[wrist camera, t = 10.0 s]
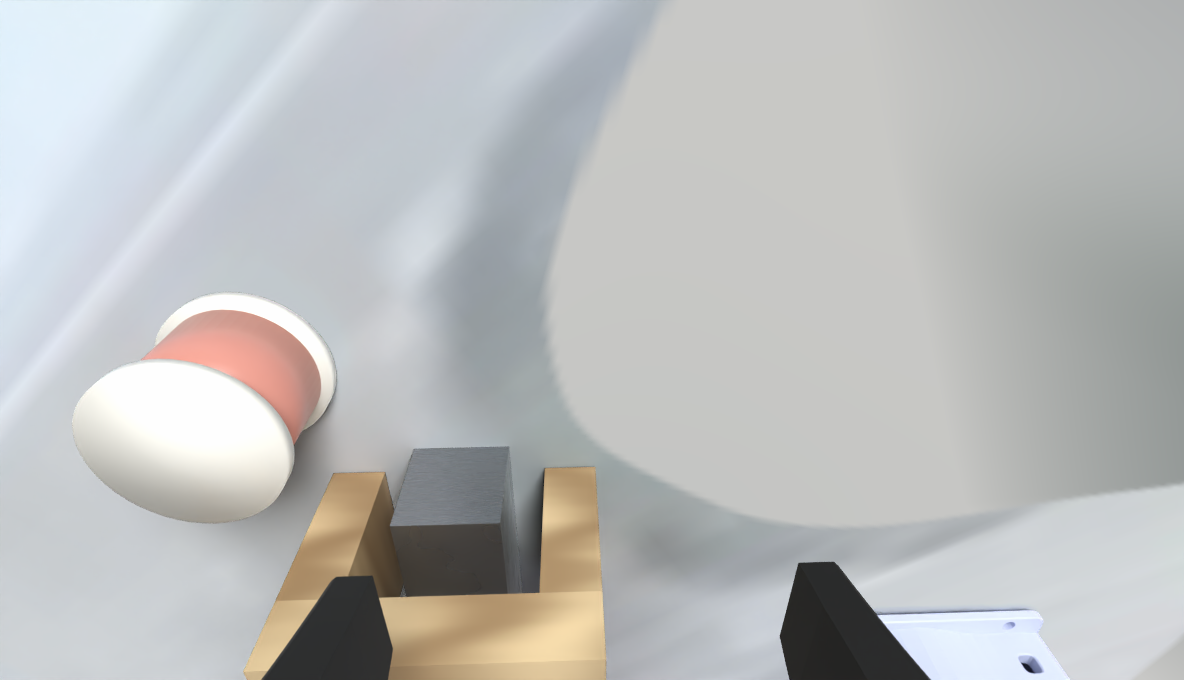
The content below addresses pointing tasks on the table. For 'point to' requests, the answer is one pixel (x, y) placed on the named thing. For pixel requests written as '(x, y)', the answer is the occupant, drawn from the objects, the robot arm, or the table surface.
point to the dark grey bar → (457, 523)
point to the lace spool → (208, 410)
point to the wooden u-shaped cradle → (461, 622)
